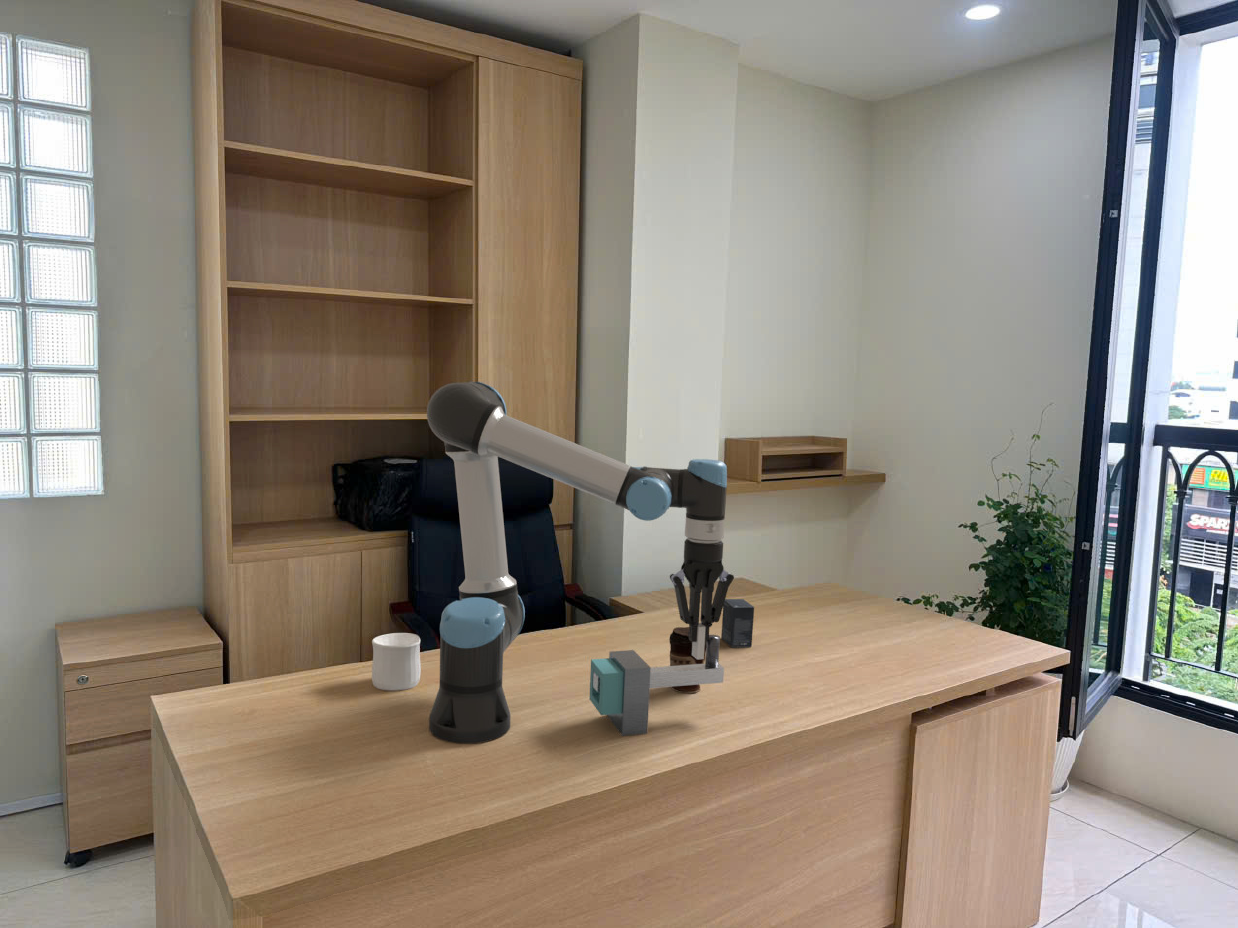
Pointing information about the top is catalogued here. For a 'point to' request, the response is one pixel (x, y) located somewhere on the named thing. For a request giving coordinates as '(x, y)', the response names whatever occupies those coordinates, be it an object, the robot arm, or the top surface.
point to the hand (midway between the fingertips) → (697, 656)
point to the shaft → (686, 670)
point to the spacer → (607, 686)
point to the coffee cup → (683, 655)
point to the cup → (396, 661)
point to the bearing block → (632, 693)
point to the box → (737, 623)
